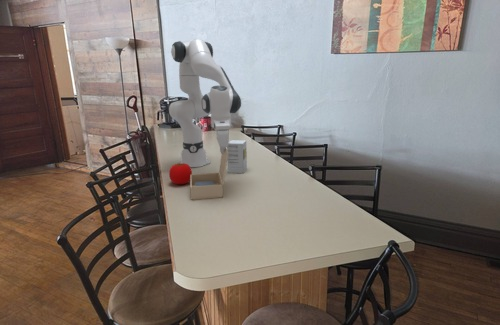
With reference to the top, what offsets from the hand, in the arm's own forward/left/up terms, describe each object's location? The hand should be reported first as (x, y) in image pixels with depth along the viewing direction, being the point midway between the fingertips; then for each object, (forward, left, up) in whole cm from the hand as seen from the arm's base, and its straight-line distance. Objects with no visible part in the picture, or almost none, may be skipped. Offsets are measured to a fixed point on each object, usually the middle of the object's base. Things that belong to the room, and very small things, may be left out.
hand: (222, 152), depth 147 cm
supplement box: (-29, +11, -19) cm, 36 cm away
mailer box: (0, -8, -18) cm, 20 cm away
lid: (0, 0, -5) cm, 5 cm away
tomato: (-15, -20, -19) cm, 32 cm away
